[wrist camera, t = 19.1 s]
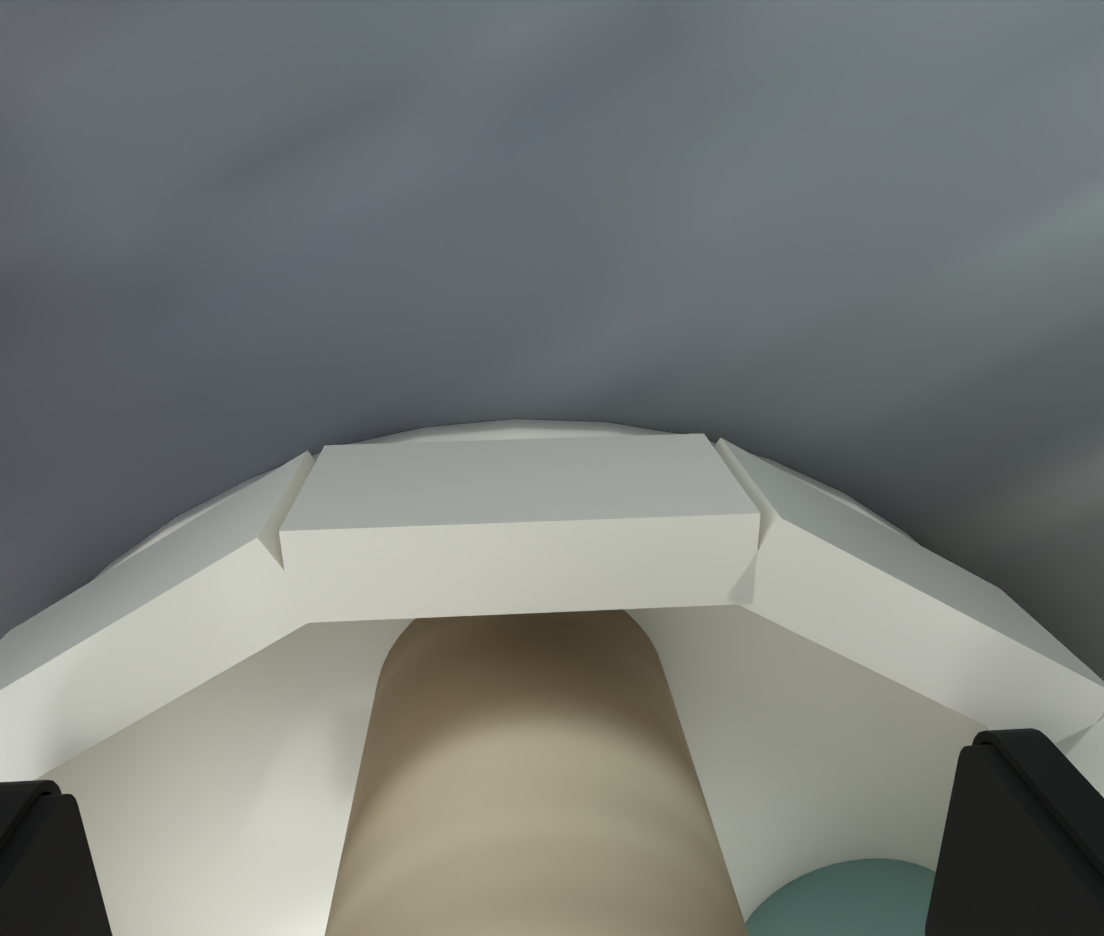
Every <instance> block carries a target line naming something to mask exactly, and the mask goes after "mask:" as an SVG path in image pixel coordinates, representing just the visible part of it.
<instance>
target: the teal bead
mask: <svg viewBox="0 0 1104 936" xmlns="http://www.w3.org/2000/svg"><path fill="white" fill-rule="evenodd" d="M935 874H936V872H935V871H933V870H931V869H929V868H926V867H924V866H921V865H918V864H915V863H911V862H906V861H902V860H895V859H884V858H874V859H859V860H850V861H845V862H841V863H836V864H832V865H829V866H826V867H823V868H819V869H817V870H814V871H812V872H809V873H807V874H805V875H802V876H800V877H799V878H797V879H795V880H793V881H791V882H789V883H788V884H786V885H785V886H783V887H782V888H780V889H779V890H777V891H776V892H774V893H773V894H772V895H771V896H770V897H768V898H767V899H766V900H765V901H764V902H763V903H762V904H761V905H760V906H759V907H758V908H757V909H756V910H755V911H754V912H753V913H752V914H751V916H750V917H749V919H748V920H747V921H746V923H745V925H746V928H747V932H748V935H749V936H925V924H926V919H927V914H928V909H929V904H930V899H931V894H932V889H933V884H934V879H935Z"/></svg>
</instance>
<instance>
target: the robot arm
mask: <svg viewBox="0 0 1104 936" xmlns="http://www.w3.org/2000/svg"><path fill="white" fill-rule="evenodd" d="M0 936H113V935H112V932H111V928H110V924H109V920H108V916H107V913H106V909H105V905H104V901H103V897H102V894H101V890H100V886H99V882H98V878H97V875H96V871H95V867H94V863H93V860H92V856H91V852H90V848H89V844H88V841H87V837H86V833H85V829H84V825H83V822H82V818H81V814H80V810H79V806H78V803H77V801H76V798H75V797H74V796H73V795H72V794H62V793H61V790H60V788H59V786H58V785H57V784H56V783H55V782H54V781H52V780H34V781H15V782H0ZM925 936H1104V798H1103V797H1102V795H1101V794H1100V793H1099V792H1098V791H1097V790H1096V789H1095V788H1094V787H1093V786H1092V785H1091V784H1090V782H1089V781H1088V780H1087V779H1086V778H1085V777H1084V776H1083V775H1082V774H1081V773H1080V772H1079V771H1078V769H1077V768H1076V767H1075V766H1074V765H1073V764H1072V763H1071V762H1070V761H1069V760H1068V759H1067V758H1066V756H1065V755H1064V754H1063V753H1062V752H1061V751H1060V750H1059V749H1058V748H1057V747H1056V746H1055V745H1054V743H1053V742H1052V741H1051V740H1050V739H1049V738H1048V737H1047V736H1046V735H1045V734H1043V733H1042V732H1041V731H1040V730H1036V729H1033V728H1025V729H1006V730H987V731H982V732H979V733H978V734H977V735H976V736H975V737H974V740H973V743H972V745H969V746H964V747H963V748H962V750H961V751H960V754H959V757H958V762H957V767H956V772H955V777H954V782H953V787H952V793H951V798H950V803H949V808H948V813H947V818H946V823H945V828H944V833H943V838H942V843H941V848H940V853H939V858H938V863H937V868H936V874H935V879H934V884H933V889H932V894H931V899H930V904H929V909H928V914H927V919H926V924H925Z"/></svg>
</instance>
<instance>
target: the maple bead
mask: <svg viewBox="0 0 1104 936" xmlns="http://www.w3.org/2000/svg"><path fill="white" fill-rule="evenodd" d="M325 936H749V935H748V932H747V928H746V925H745V922H744V919H743V916H742V913H741V910H740V907H739V904H738V900H737V897H736V894H735V891H734V888H733V885H732V882H731V879H730V876H729V872H728V869H727V866H726V863H725V860H724V857H723V854H722V851H721V848H720V844H719V841H718V838H717V835H716V832H715V829H714V826H713V823H712V820H711V816H710V813H709V810H708V807H707V804H706V801H705V798H704V795H703V791H702V788H701V785H700V782H699V779H698V776H697V773H696V770H695V767H694V763H693V760H692V757H691V754H690V751H689V748H688V745H687V742H686V739H685V735H684V732H683V729H682V726H681V723H680V720H679V717H678V714H677V711H676V707H675V704H674V701H673V698H672V695H671V692H670V689H669V686H668V683H667V679H666V676H665V673H664V670H663V667H662V664H661V661H660V659H659V656H658V653H657V651H656V649H655V648H654V646H653V644H652V642H651V640H650V638H649V637H648V636H647V634H646V633H645V632H644V630H643V629H642V628H641V626H640V625H639V624H638V623H637V622H636V621H635V620H634V619H633V618H632V617H631V616H630V615H629V614H628V613H627V612H625V611H624V610H623V609H617V610H594V611H570V612H547V613H524V614H501V615H477V616H454V617H431V618H416V619H415V620H413V621H412V622H411V623H410V624H409V626H408V627H407V628H406V629H405V630H404V631H403V632H402V633H401V634H400V636H399V637H398V639H397V640H396V642H395V643H394V645H393V646H392V647H391V649H390V651H389V653H388V655H387V657H386V659H385V661H384V663H383V665H382V669H381V672H380V675H379V679H378V682H377V687H376V692H375V696H374V701H373V706H372V711H371V716H370V720H369V725H368V730H367V735H366V740H365V744H364V749H363V754H362V759H361V764H360V768H359V773H358V778H357V783H356V788H355V792H354V797H353V802H352V807H351V811H350V816H349V821H348V826H347V831H346V835H345V840H344V845H343V850H342V855H341V859H340V864H339V869H338V874H337V879H336V883H335V888H334V893H333V898H332V903H331V907H330V912H329V917H328V922H327V927H326V931H325Z"/></svg>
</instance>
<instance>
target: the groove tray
mask: <svg viewBox="0 0 1104 936" xmlns="http://www.w3.org/2000/svg"><path fill="white" fill-rule="evenodd" d="M617 609H623V610H624V611H625V612H627V613H628V614H629V615H630V616H631V617H632V618H633V619H634V620H635V621H636V622H637V623H638V624H639V625H640V626H641V628H642V629H643V630H644V632H645V633H646V634H647V636H648V637H649V638H650V640H651V642H652V644H653V646H654V648H655V649H656V651H657V653H658V656H659V659H660V661H661V664H662V667H663V670H664V673H665V676H666V679H667V683H668V686H669V689H670V692H671V695H672V698H673V701H674V704H675V707H676V711H677V714H678V717H679V720H680V723H681V726H682V729H683V732H684V735H685V739H686V742H687V745H688V748H689V751H690V754H691V757H692V760H693V763H694V767H695V770H696V773H697V776H698V779H699V782H700V785H701V788H702V791H703V795H704V798H705V801H706V804H707V807H708V810H709V813H710V816H711V820H712V823H713V826H714V829H715V832H716V835H717V838H718V841H719V844H720V848H721V851H722V854H723V857H724V860H725V863H726V866H727V869H728V872H729V876H730V879H731V882H732V885H733V888H734V891H735V894H736V897H737V900H738V904H739V907H740V910H741V913H742V916H743V919H744V922H745V923H746V921H747V920H748V919H749V917H750V916H751V914H752V913H753V912H754V911H755V910H756V909H757V908H758V907H759V906H760V905H761V904H762V903H763V902H764V901H765V900H766V899H767V898H768V897H770V896H771V895H772V894H773V893H774V892H776V891H777V890H779V889H780V888H782V887H783V886H785V885H786V884H788V883H789V882H791V881H793V880H795V879H797V878H799V877H800V876H802V875H805V874H807V873H809V872H812V871H814V870H817V869H819V868H823V867H826V866H829V865H832V864H836V863H841V862H845V861H850V860H859V859H874V858H884V859H895V860H902V861H906V862H911V863H915V864H918V865H921V866H924V867H926V868H929V869H931V870H933V871H935V872H936V868H937V863H938V858H939V853H940V848H941V843H942V838H943V833H944V828H945V823H946V818H947V813H948V808H949V803H950V798H951V793H952V787H953V782H954V777H955V772H956V767H957V762H958V757H959V754H960V751H961V750H962V748H963V747H964V746H969V745H972V743H973V740H974V737H975V736H976V735H977V734H978V733H979V732H982V731H987V730H1006V729H1025V728H1033V729H1036V730H1040V731H1041V732H1042V733H1043V734H1045V735H1046V736H1047V737H1048V738H1049V739H1050V740H1051V741H1052V742H1053V743H1054V745H1055V746H1056V747H1057V748H1058V749H1059V750H1060V751H1061V752H1062V753H1063V754H1064V755H1065V756H1066V758H1067V759H1068V760H1069V761H1070V762H1071V763H1072V764H1073V765H1074V766H1075V767H1076V768H1077V769H1078V771H1079V772H1080V773H1081V774H1082V775H1083V776H1084V777H1085V778H1086V779H1087V780H1088V781H1089V782H1090V784H1091V785H1092V786H1093V787H1094V788H1095V789H1096V790H1097V791H1098V792H1099V793H1100V794H1101V795H1102V797H1103V798H1104V681H1103V680H1102V679H1101V678H1100V677H1098V676H1097V675H1096V674H1095V673H1094V672H1093V671H1092V670H1091V669H1089V668H1088V667H1087V666H1086V665H1085V664H1084V663H1083V662H1082V661H1081V660H1079V659H1078V658H1077V657H1076V656H1075V655H1074V654H1073V653H1072V652H1070V651H1069V650H1068V649H1067V648H1066V647H1065V646H1064V645H1063V644H1061V643H1060V642H1059V641H1058V640H1057V639H1056V638H1055V637H1054V636H1053V635H1051V634H1050V633H1049V632H1048V631H1047V630H1046V629H1045V628H1044V627H1042V626H1041V625H1040V624H1039V623H1038V622H1037V621H1036V620H1035V619H1033V618H1032V617H1031V616H1030V615H1029V614H1028V613H1027V612H1026V611H1025V610H1023V609H1022V608H1021V607H1020V606H1019V605H1018V604H1017V603H1016V602H1014V601H1013V600H1012V599H1011V598H1010V597H1009V596H1008V595H1007V594H1006V593H1004V592H1003V591H1002V590H1001V589H1000V588H998V587H996V586H994V585H992V584H991V583H989V582H987V581H985V580H983V579H981V578H980V577H978V576H976V575H974V574H972V573H970V572H968V571H967V570H965V569H963V568H961V567H959V566H957V565H955V564H954V563H952V562H950V561H948V560H946V559H944V558H943V557H941V556H939V555H937V554H935V553H933V552H931V551H930V550H928V549H926V548H924V547H922V546H920V545H919V544H918V543H917V542H916V541H915V540H913V539H912V538H911V537H910V536H909V535H908V534H907V533H905V532H904V531H902V530H901V529H899V528H898V527H896V526H895V525H893V524H891V523H890V522H888V521H887V520H885V519H884V518H882V517H881V516H879V515H877V514H876V513H874V512H873V511H871V510H870V509H868V508H867V507H865V506H863V505H862V504H860V503H859V502H857V501H856V500H854V499H853V498H851V497H849V496H848V495H846V494H845V493H843V492H841V491H839V490H837V489H834V488H832V487H830V486H828V485H826V484H823V483H821V482H819V481H817V480H815V479H812V478H810V477H808V476H806V475H804V474H801V473H799V472H797V471H795V470H793V469H790V468H788V467H786V466H784V465H782V464H779V463H777V462H775V461H773V460H770V459H767V458H764V457H760V456H757V455H754V454H750V453H748V452H746V451H745V450H743V449H741V448H739V447H737V446H735V445H734V444H732V443H730V442H728V441H726V440H724V439H722V438H721V437H720V439H719V440H718V442H717V443H713V442H710V441H709V440H708V439H707V437H706V436H705V434H704V433H703V434H677V433H670V432H664V431H658V430H652V429H645V428H639V427H633V426H627V425H620V424H614V423H608V422H590V421H559V420H528V419H510V420H500V421H489V422H478V423H467V424H456V425H445V426H435V427H424V428H420V429H415V430H411V431H406V432H401V433H397V434H392V435H388V436H383V437H379V438H374V439H370V440H365V441H361V442H356V443H352V444H347V445H325V446H324V447H323V449H322V451H321V453H318V454H315V455H312V456H311V454H310V453H309V452H308V450H307V451H306V452H304V453H302V454H301V455H299V456H297V457H296V458H294V459H292V460H291V461H289V462H288V463H286V464H284V465H283V466H281V467H279V468H276V469H273V470H270V471H268V472H265V473H262V474H259V475H256V476H254V477H251V478H249V479H247V480H246V481H244V482H242V483H240V484H238V485H236V486H234V487H232V488H230V489H228V490H226V491H224V492H222V493H220V494H218V495H217V496H215V497H213V498H211V499H209V500H207V501H205V502H203V503H201V504H199V505H197V506H195V507H193V508H191V509H189V510H188V511H186V512H184V513H182V514H180V515H178V516H176V517H175V518H173V519H172V520H170V521H169V522H168V523H166V524H165V525H163V526H162V527H160V528H159V529H158V530H156V531H155V532H153V533H152V534H151V535H149V536H148V537H146V538H145V539H144V540H142V541H141V542H139V543H138V544H137V545H135V546H134V547H132V548H131V549H129V550H128V551H127V552H125V553H124V554H122V555H121V556H120V557H118V558H117V559H115V560H114V561H113V562H111V563H110V564H109V565H108V566H107V567H106V568H105V569H103V570H102V571H101V572H100V573H99V574H98V575H97V576H96V577H95V578H94V579H93V580H92V581H91V582H89V583H88V584H86V585H84V586H83V587H81V588H79V589H78V590H76V591H74V592H73V593H71V594H69V595H68V596H66V597H65V598H63V599H61V600H60V601H58V602H56V603H55V604H53V605H51V606H50V607H48V608H46V609H45V610H43V611H41V612H40V613H38V614H36V615H35V616H33V617H31V618H30V619H28V620H27V621H25V622H23V623H22V624H20V625H18V626H17V627H15V628H13V629H12V630H10V631H9V632H8V633H7V634H6V635H5V636H4V637H3V638H2V639H1V640H0V782H15V781H34V780H52V781H54V782H55V783H56V784H57V785H58V786H59V788H60V790H61V793H62V794H72V795H73V796H74V797H75V798H76V801H77V803H78V806H79V810H80V814H81V818H82V822H83V825H84V829H85V833H86V837H87V841H88V844H89V848H90V852H91V856H92V860H93V863H94V867H95V871H96V875H97V878H98V882H99V886H100V890H101V894H102V897H103V901H104V905H105V909H106V913H107V916H108V920H109V924H110V928H111V932H112V935H113V936H325V931H326V927H327V922H328V917H329V912H330V907H331V903H332V898H333V893H334V888H335V883H336V879H337V874H338V869H339V864H340V859H341V855H342V850H343V845H344V840H345V835H346V831H347V826H348V821H349V816H350V811H351V807H352V802H353V797H354V792H355V788H356V783H357V778H358V773H359V768H360V764H361V759H362V754H363V749H364V744H365V740H366V735H367V730H368V725H369V720H370V716H371V711H372V706H373V701H374V696H375V692H376V687H377V682H378V679H379V675H380V672H381V669H382V665H383V663H384V661H385V659H386V657H387V655H388V653H389V651H390V649H391V647H392V646H393V645H394V643H395V642H396V640H397V639H398V637H399V636H400V634H401V633H402V632H403V631H404V630H405V629H406V628H407V627H408V626H409V624H410V623H411V622H412V621H413V620H415V619H416V618H431V617H454V616H477V615H501V614H524V613H547V612H570V611H594V610H617Z"/></svg>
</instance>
